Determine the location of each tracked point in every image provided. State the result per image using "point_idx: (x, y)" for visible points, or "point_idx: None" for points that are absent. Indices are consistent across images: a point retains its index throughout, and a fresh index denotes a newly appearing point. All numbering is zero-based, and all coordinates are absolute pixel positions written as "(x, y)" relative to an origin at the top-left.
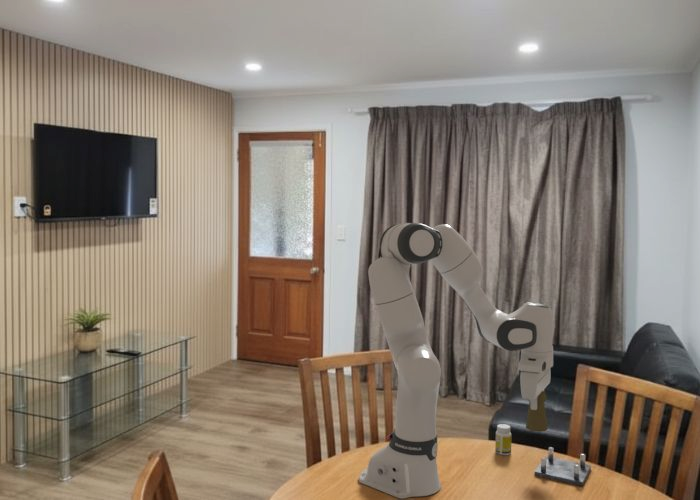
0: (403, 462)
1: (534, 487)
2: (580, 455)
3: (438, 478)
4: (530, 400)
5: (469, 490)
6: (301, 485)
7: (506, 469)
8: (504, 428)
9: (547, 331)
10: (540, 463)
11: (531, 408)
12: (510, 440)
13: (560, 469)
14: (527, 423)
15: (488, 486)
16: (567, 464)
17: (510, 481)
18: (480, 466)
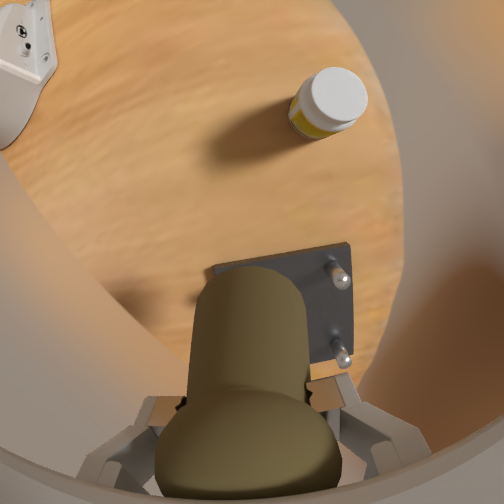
0: None
1: (151, 292)
2: (340, 358)
3: (2, 133)
4: (108, 447)
5: (40, 185)
6: None
7: (196, 182)
8: (317, 105)
9: None
10: (282, 258)
11: (148, 401)
12: (325, 133)
13: None
14: (202, 300)
15: (77, 204)
16: (325, 315)
17: (135, 231)
18: (163, 115)
